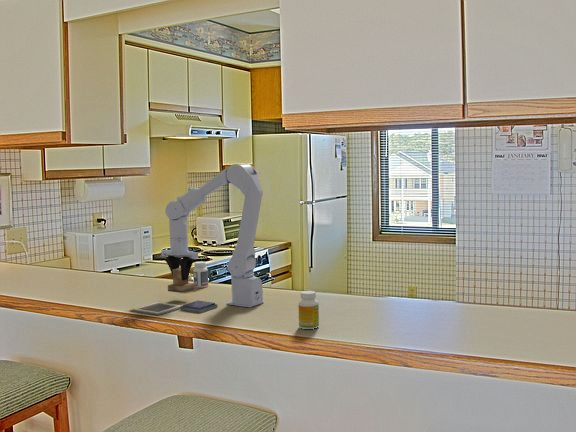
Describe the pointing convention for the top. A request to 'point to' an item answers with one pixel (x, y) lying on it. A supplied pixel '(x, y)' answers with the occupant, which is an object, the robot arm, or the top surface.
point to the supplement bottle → (308, 310)
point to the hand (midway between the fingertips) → (180, 279)
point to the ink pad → (199, 306)
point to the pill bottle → (200, 275)
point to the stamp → (179, 283)
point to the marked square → (157, 308)
